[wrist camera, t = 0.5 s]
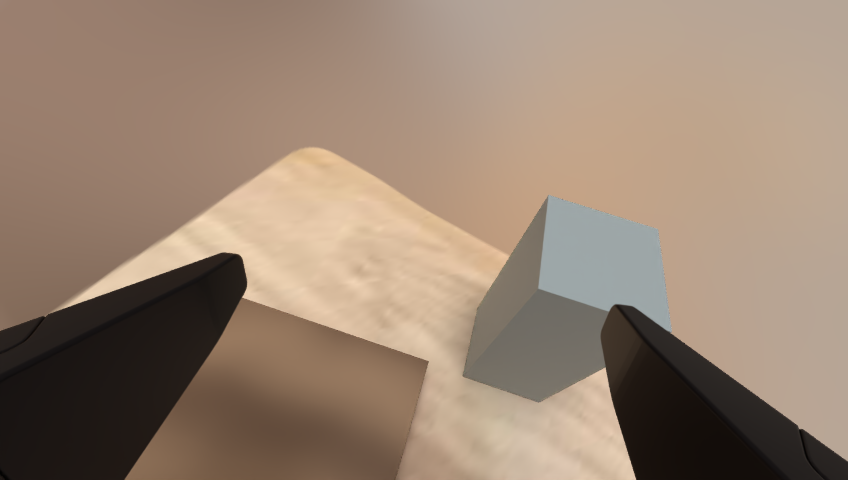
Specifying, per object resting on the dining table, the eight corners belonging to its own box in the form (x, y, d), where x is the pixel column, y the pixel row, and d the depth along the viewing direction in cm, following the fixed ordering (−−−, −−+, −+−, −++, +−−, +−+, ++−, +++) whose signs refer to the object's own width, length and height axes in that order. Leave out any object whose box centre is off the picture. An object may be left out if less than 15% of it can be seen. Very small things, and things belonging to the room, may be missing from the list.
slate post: (538, 402, 23) (672, 332, 13) (462, 376, 23) (538, 288, 13) (545, 330, 26) (657, 229, 16) (477, 307, 26) (548, 194, 16)
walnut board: (344, 644, 16) (343, 666, 14) (93, 547, 16) (55, 554, 14) (422, 373, 23) (428, 361, 21) (244, 312, 23) (233, 294, 21)
